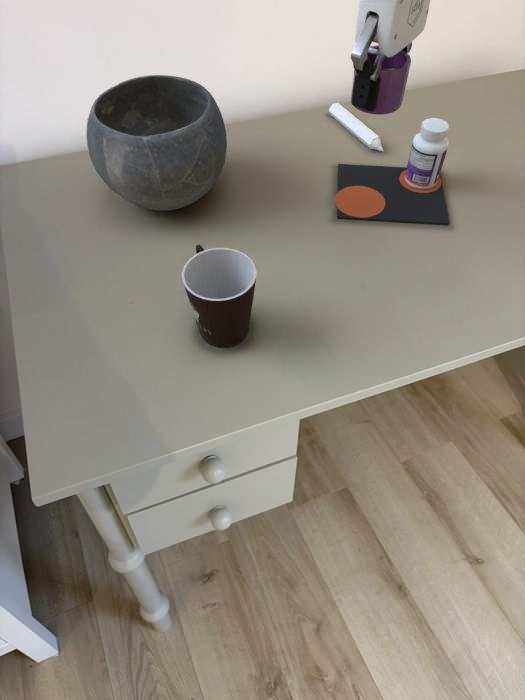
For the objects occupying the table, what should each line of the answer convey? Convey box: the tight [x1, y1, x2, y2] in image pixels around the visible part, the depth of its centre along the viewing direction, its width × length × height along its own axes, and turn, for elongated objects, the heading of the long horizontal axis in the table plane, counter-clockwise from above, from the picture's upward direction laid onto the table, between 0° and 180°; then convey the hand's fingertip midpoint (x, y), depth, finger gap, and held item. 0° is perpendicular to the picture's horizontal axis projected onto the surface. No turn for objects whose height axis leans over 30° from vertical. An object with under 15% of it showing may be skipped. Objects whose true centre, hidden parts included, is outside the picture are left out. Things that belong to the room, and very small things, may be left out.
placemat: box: [334, 163, 450, 226], centre depth 86 cm, size 18×14×1 cm
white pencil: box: [328, 102, 385, 153], centre depth 95 cm, size 3×2×16 cm
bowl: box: [86, 74, 228, 211], centre depth 80 cm, size 20×20×15 cm
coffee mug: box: [181, 244, 258, 349], centre depth 66 cm, size 12×9×10 cm
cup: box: [350, 44, 412, 116], centre depth 67 cm, size 7×7×6 cm
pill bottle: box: [405, 117, 450, 189], centre depth 83 cm, size 5×5×10 cm
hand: (377, 94), depth 68 cm, fingers closed on cup, 6 cm apart
